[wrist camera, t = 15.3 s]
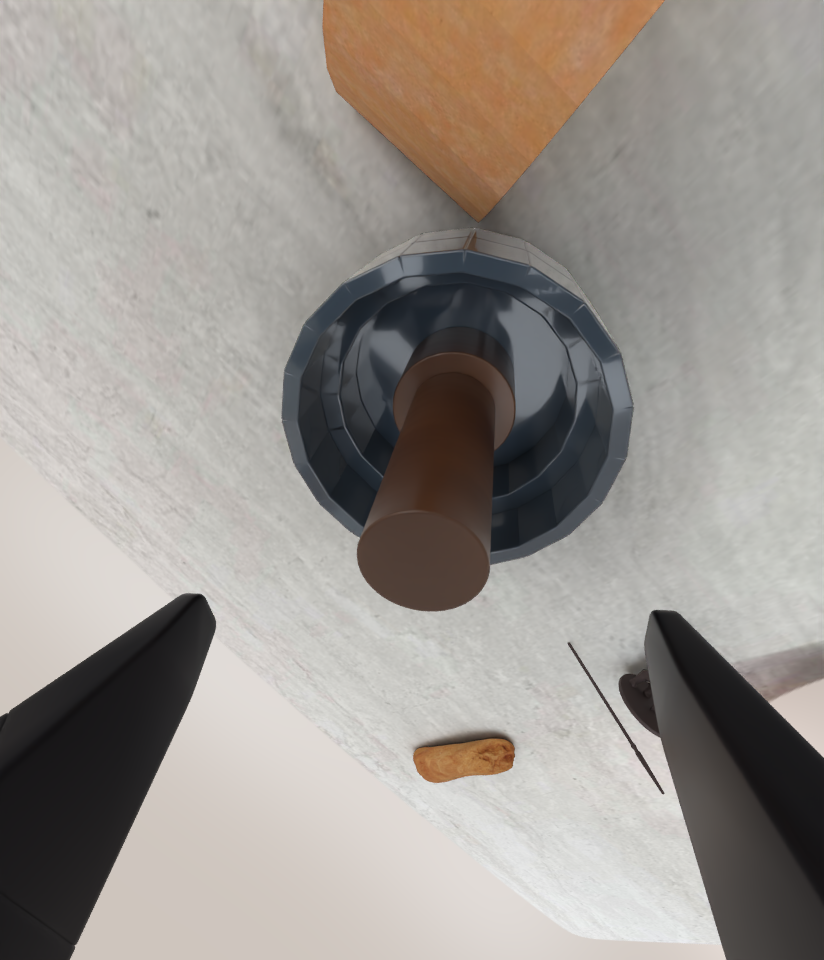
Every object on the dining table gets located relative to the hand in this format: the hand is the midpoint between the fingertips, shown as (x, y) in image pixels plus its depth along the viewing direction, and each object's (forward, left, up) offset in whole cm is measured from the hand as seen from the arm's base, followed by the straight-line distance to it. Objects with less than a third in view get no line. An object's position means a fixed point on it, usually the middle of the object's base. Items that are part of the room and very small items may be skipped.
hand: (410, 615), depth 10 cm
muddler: (0, 0, -12) cm, 12 cm away
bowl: (0, 0, -13) cm, 13 cm away
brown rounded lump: (+2, +26, -12) cm, 29 cm away
